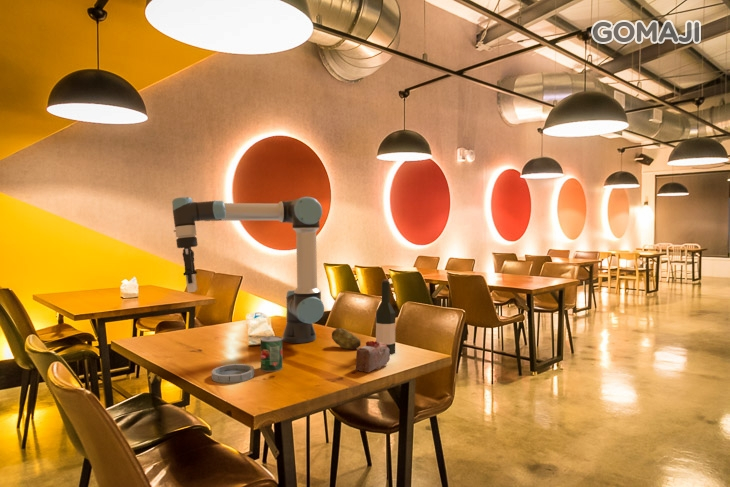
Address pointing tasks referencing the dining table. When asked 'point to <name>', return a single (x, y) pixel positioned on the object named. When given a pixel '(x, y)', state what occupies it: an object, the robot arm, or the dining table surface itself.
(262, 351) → the canned tomato
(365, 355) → the food item
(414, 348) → the dining table surface
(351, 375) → the dining table surface
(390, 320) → the wine bottle
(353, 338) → the potato
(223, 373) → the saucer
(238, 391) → the dining table surface
